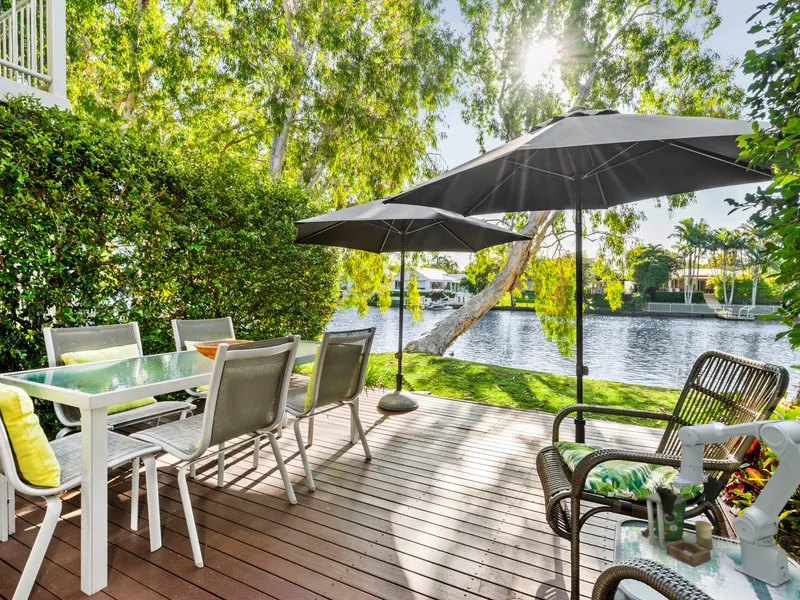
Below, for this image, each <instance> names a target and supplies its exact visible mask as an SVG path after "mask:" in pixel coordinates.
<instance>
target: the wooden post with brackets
mask: <svg viewBox="0 0 800 600" xmlns="http://www.w3.org/2000/svg"><path fill="white" fill-rule="evenodd" d="M653 523H654V535H655V525H656V518H655V519H654V520H653ZM640 533H641V535H642V536H644V537H646V538H649V526H648V527H647V528H646V529H644V530H640Z"/></svg>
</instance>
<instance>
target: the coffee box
mask: <svg viewBox="0 0 800 600" xmlns="http://www.w3.org/2000/svg"><path fill="white" fill-rule="evenodd" d="M686 507H687V500H686V499H685V498H683V497H682V503H679V504H676V505H674V507H673V513H672V515H668V514H666V513H664V511H663V509H662V511H663V525H664V539H665V541H666V540H673V541H678V540H681V539H683V538H684V528H685V527H684V525H685V518H686V517H685V516H686ZM655 519H656V525H655V528H654V530H655V534H654V537H656V538H657V539H659V528H658V514H657V513H656V518H655Z"/></svg>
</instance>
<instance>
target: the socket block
mask: <svg viewBox="0 0 800 600" xmlns="http://www.w3.org/2000/svg"><path fill="white" fill-rule="evenodd" d="M665 552H666V555H668V556H669V557H672V558H674V559H677V560H678V561H681V562H683V563H685V564H687V565H690V566H692V567H693V568H696V567H698V566H700V565H702V564H704V563H707V562H709V561H711V560H712V555H711V554H712V553H711V550H707V549H705V548H703V547H700V546H698V545H697V544H695V543H693V542H691V541H689V540H686V539H684V538H682V539H681V540H675V541H673V542H671V543H669V544H665Z"/></svg>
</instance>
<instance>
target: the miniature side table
mask: <svg viewBox="0 0 800 600" xmlns="http://www.w3.org/2000/svg"><path fill="white" fill-rule="evenodd" d="M672 493H673V494H676V495H678V497H677V498H676V500H675V503H674V505H676V504H679V503H682V498H683V495H681V494H678V493H674V492H672ZM644 499H646V507H647V522H648V527H649V534H648V538H649V545H650V546H651V545H652V546H655V545H656V540H655V537H656V536H655V534H654V530H655V528H654V511H653V502H655V503H656V515H657V514H658V528H659V538H658V539H659V540H658V541H659V549H660V550H663V551H666V544H665V543H666V540H665V539H664V525H663V511H662V509H663V507H662V503H661V500H660V497H659V495H658V493H657V492H653V493H651V494H648V495H644Z"/></svg>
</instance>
